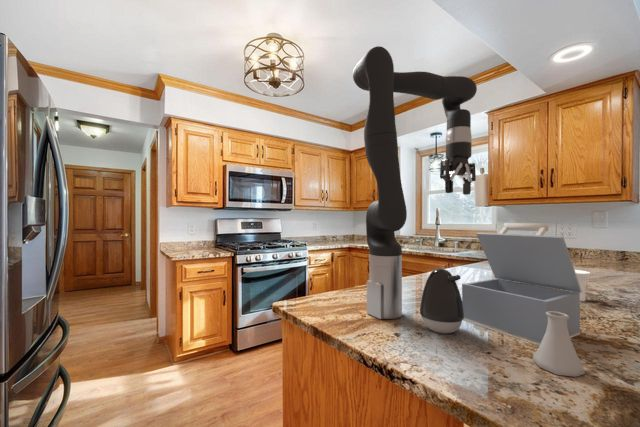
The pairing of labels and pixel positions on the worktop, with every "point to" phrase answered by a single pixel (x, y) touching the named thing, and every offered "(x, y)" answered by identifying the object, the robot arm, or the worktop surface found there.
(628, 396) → the worktop surface
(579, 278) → the cup
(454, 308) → the pump dispenser
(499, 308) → the carton
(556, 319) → the flask
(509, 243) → the lid flap
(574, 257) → the worktop surface
